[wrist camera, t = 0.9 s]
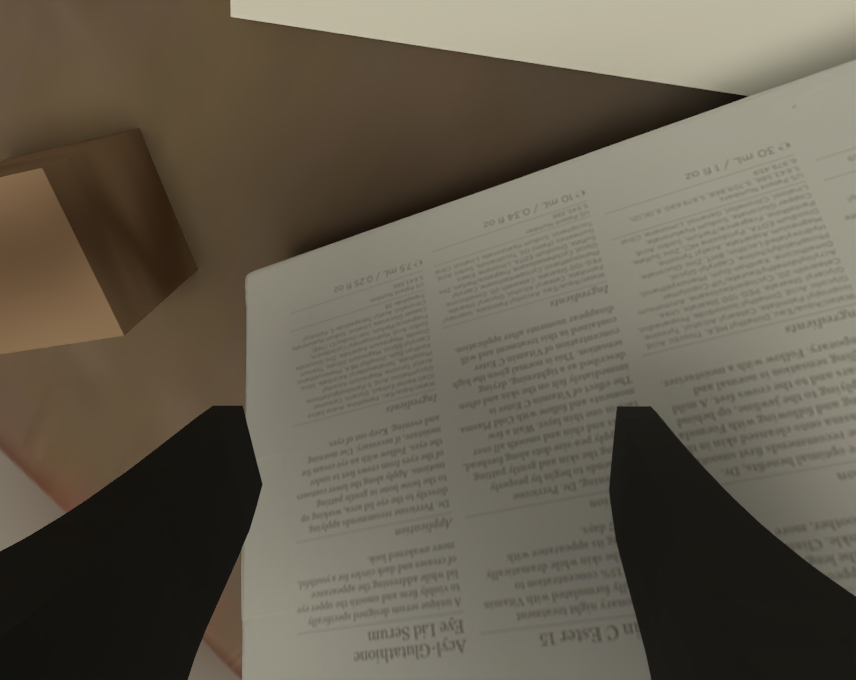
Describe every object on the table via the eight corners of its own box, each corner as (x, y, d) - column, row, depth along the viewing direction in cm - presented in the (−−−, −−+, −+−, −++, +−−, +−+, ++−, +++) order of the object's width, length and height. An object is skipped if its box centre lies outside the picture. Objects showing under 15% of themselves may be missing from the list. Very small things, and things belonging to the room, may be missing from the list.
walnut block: (198, 268, 24) (124, 335, 19) (79, 289, 25) (-16, 356, 20) (140, 127, 21) (42, 168, 17) (12, 157, 23) (-111, 201, 18)
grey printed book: (333, 336, 25) (343, 870, 17) (240, 267, 20) (201, 949, 13) (1014, 138, 18) (1496, 889, 10) (1105, -36, 13) (2060, 1072, 6)
